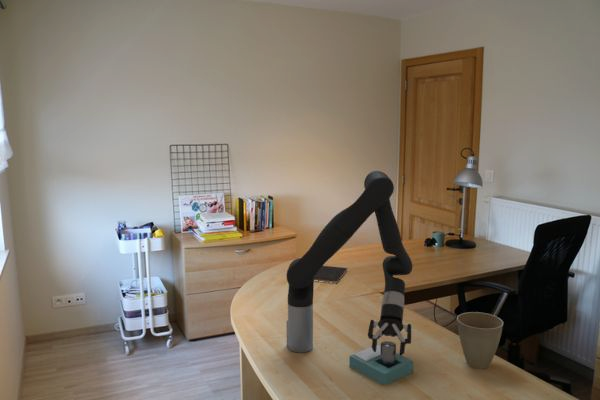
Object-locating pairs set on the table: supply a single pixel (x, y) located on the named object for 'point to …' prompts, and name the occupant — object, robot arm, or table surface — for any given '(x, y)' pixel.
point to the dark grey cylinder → (388, 354)
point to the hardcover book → (330, 274)
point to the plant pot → (479, 337)
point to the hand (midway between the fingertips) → (387, 353)
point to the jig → (380, 366)
